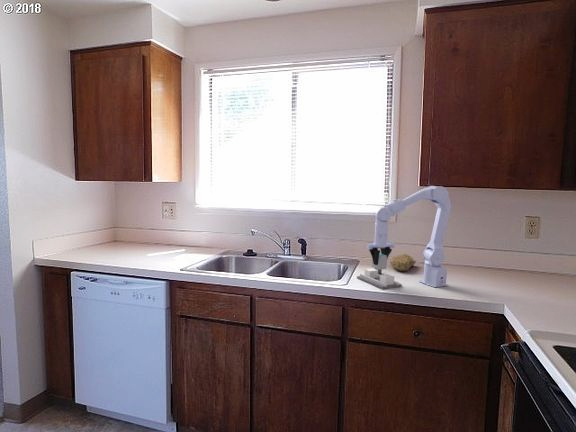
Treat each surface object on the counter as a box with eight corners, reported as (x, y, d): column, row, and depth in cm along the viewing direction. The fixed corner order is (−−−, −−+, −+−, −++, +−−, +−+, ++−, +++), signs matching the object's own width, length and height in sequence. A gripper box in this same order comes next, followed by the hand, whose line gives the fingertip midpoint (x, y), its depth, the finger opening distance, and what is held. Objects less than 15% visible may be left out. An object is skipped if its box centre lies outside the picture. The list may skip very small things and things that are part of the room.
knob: (383, 273, 182) (383, 267, 182) (377, 274, 181) (377, 268, 180) (378, 272, 186) (378, 266, 185) (372, 272, 184) (372, 266, 184)
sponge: (398, 265, 206) (380, 263, 192) (403, 252, 205) (385, 249, 191) (419, 274, 197) (402, 273, 183) (424, 260, 196) (407, 258, 182)
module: (386, 268, 165) (387, 255, 165) (379, 269, 164) (379, 255, 163) (379, 266, 170) (379, 253, 169) (372, 267, 168) (372, 253, 167)
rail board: (401, 286, 162) (402, 276, 161) (381, 289, 157) (382, 279, 156) (375, 276, 178) (376, 266, 177) (356, 278, 173) (357, 268, 172)
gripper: (388, 232, 172) (386, 260, 173) (362, 233, 165) (361, 263, 167) (398, 234, 165) (396, 264, 167) (372, 236, 159) (370, 267, 161)
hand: (379, 264), depth 166 cm, fingers closed on module, 4 cm apart
